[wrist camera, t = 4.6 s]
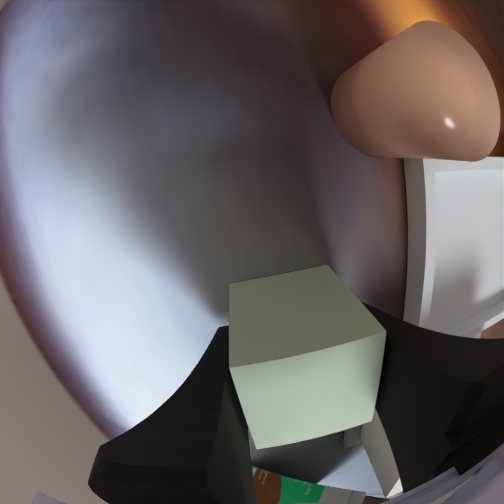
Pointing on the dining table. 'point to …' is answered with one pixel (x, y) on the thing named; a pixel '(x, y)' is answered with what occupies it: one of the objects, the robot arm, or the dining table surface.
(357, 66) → the terracotta part
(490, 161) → the tray
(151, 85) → the dining table surface
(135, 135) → the dining table surface
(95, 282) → the dining table surface
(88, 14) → the dining table surface
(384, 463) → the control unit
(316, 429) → the green part
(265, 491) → the food container
